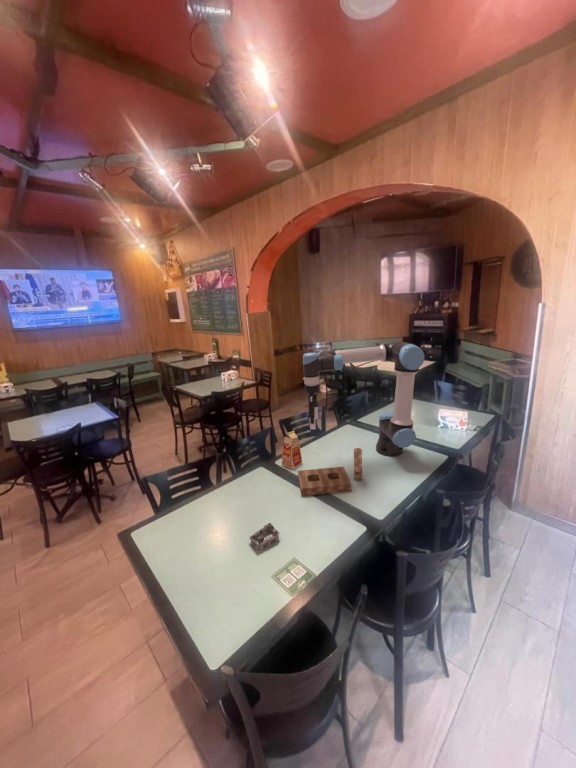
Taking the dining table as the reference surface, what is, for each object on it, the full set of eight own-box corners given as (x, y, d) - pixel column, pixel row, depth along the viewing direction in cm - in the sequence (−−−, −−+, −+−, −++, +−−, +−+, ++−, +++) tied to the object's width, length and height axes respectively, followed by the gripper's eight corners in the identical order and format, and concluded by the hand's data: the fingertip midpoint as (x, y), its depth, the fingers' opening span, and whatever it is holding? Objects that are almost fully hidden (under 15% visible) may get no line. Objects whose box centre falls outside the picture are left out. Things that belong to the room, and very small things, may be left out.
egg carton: (272, 529, 127) (271, 521, 126) (281, 540, 121) (281, 531, 120) (248, 541, 122) (247, 532, 121) (257, 553, 115) (256, 544, 114)
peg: (361, 475, 160) (360, 447, 156) (363, 480, 156) (363, 451, 152) (353, 476, 160) (352, 448, 156) (355, 481, 156) (354, 452, 152)
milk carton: (294, 469, 171) (291, 435, 165) (281, 465, 176) (278, 432, 171) (303, 462, 178) (301, 429, 172) (290, 458, 183) (288, 426, 178)
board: (343, 473, 164) (343, 466, 162) (351, 491, 148) (351, 483, 147) (298, 477, 162) (297, 470, 161) (301, 496, 147) (301, 488, 146)
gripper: (307, 378, 168) (309, 414, 173) (301, 391, 144) (304, 433, 149) (321, 377, 166) (323, 414, 172) (317, 391, 143) (319, 433, 148)
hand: (314, 423), depth 161 cm, fingers open, 13 cm apart
